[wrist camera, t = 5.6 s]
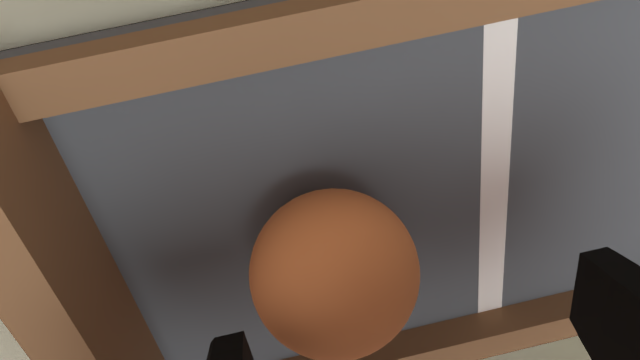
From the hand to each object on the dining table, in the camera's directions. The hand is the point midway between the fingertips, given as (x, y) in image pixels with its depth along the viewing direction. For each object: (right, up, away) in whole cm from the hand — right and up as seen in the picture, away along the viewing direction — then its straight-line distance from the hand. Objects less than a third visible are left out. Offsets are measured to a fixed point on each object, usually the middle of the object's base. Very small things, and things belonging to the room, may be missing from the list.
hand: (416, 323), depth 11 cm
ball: (-2, +1, +1) cm, 2 cm away
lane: (+5, +4, +4) cm, 7 cm away
